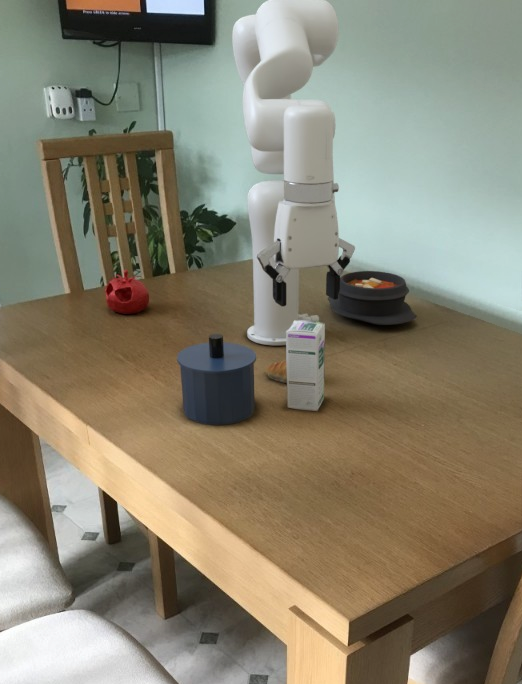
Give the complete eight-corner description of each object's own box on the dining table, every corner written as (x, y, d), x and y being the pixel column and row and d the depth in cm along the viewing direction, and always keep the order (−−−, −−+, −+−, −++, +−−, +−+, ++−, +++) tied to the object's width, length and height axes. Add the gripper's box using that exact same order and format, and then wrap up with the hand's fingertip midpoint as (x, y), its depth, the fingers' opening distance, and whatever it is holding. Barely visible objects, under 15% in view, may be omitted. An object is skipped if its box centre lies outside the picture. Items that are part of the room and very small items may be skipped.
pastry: (262, 382, 154) (261, 363, 152) (271, 369, 160) (271, 351, 158) (310, 387, 153) (310, 368, 151) (317, 374, 159) (318, 355, 157)
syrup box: (318, 411, 144) (320, 332, 136) (285, 408, 145) (285, 329, 137) (324, 398, 149) (326, 321, 141) (292, 395, 150) (293, 318, 142)
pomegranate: (129, 300, 195) (125, 261, 190) (159, 309, 190) (155, 269, 185) (97, 310, 188) (92, 270, 183) (127, 319, 183) (122, 278, 178)
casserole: (435, 325, 185) (438, 288, 180) (366, 338, 176) (368, 299, 172) (373, 295, 203) (375, 261, 198) (309, 306, 195) (309, 270, 190)
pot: (238, 390, 151) (236, 341, 146) (265, 417, 142) (265, 365, 136) (174, 402, 146) (170, 351, 141) (198, 430, 137) (195, 377, 132)
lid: (238, 343, 147) (237, 318, 144) (269, 369, 137) (268, 343, 134) (166, 354, 141) (164, 329, 139) (193, 382, 131) (191, 355, 129)
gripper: (344, 185, 134) (341, 289, 143) (247, 192, 127) (250, 300, 136) (367, 193, 128) (362, 300, 137) (267, 200, 121) (268, 313, 130)
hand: (306, 300), depth 137 cm, fingers open, 9 cm apart
